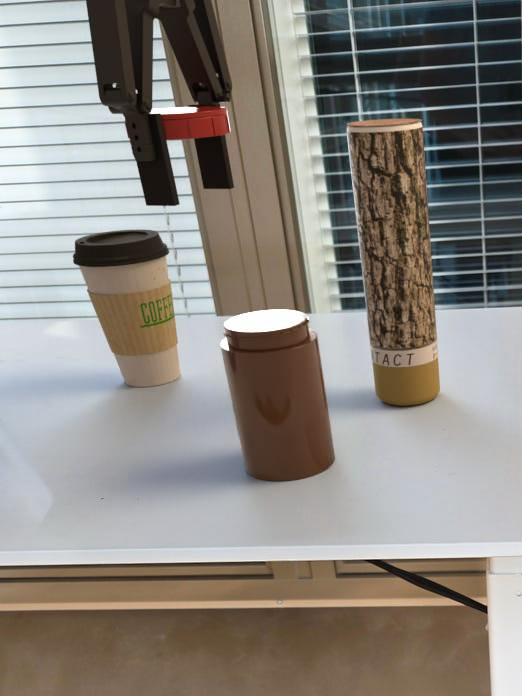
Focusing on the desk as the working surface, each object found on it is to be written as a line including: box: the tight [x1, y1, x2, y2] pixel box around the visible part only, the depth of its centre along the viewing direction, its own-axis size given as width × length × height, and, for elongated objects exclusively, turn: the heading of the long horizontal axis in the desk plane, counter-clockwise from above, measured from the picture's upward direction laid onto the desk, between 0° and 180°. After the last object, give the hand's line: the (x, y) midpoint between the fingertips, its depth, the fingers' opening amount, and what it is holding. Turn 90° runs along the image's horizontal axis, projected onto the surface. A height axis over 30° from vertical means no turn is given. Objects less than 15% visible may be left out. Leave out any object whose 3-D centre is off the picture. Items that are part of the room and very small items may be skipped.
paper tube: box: [346, 118, 441, 407], centre depth 86 cm, size 7×7×25 cm
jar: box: [219, 309, 336, 482], centre depth 76 cm, size 8×8×12 cm
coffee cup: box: [72, 229, 181, 388], centre depth 98 cm, size 10×10×15 cm
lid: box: [123, 106, 231, 141], centre depth 73 cm, size 8×8×2 cm
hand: (192, 196), depth 77 cm, fingers closed on lid, 8 cm apart
